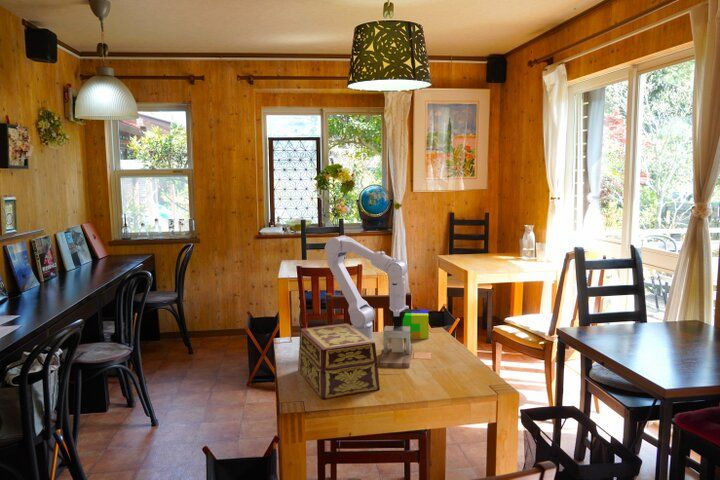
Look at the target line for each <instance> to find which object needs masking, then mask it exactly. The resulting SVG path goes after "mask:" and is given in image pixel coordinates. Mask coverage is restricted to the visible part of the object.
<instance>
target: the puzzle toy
mask: <svg viewBox="0 0 720 480" xmlns="http://www.w3.org/2000/svg"><path fill="white" fill-rule="evenodd" d="M405 311H406V313H405V316H404V318H403V322H402V326H409V327H410V340H411V339H412V340H413V339H415V340H419V339H420V340H422V339H423V340H424V339H425V340H429V335H430V333H429V310H428V309H424V308H423V309H416V308H415V309H412V308H411V309H410V308H409V309H405ZM404 339H405V340H406V338H403V340H404Z"/></svg>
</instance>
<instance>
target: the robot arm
mask: <svg viewBox="0 0 720 480" xmlns="http://www.w3.org/2000/svg"><path fill="white" fill-rule="evenodd" d="M324 251H325V253H326V261H327V267H328V268H329V269H330V271H331V273H332V275H333V277H334V279H335V281H336V283H337V285H338V287H339V288H340V291H341V292H342V295H343V296H344V298H345V300H346V301H347V304H348V309H347V312H348V315H349V316H350V317H349V319H350V322H351V326H352V327H353V328H355V329H356V330H358V331H359V332H361V333H362V334H363V335H365V336H366V337H368V338H369V339H371V340H372V341H373V342H374V339H373V338H374V334H373V333H374V331H373V330H374V329H373V328H374V327H373V321H374V320H375V318H376V311H375V309H374V308H373V307H372V306H371V305H370V304H369V303H368V301H366V300H365V299H363V298H362V296H361V294H360V292H359V291H358V288H357V286H356V285H355V283H354V281H353V279H352V277H351V276H350V273H349V272H348V270H347V268H346V266H345V263H344V259H345V257H346V254H347V253H351V252H352V253H354V254H355V255H358V256H360V257H362V258H365V259H367V260H369V261H370V263H371V265H372V266H373V267H375V268H377V269H379V270H381V271H383V272H384V273H386V275H387V277H388V278H389V308H388V309H389V310H390V312H389V316H390V317H391V320H392V324H393V326H403V318H404V316H405V313H406V311H405V309H410V308H409V305H407V304H406V274H407V273H408V265H407V264H406V262H405V261H403V260H402V259H401V260H397V258H395V257H391V256H389V255H387V254H386V252H385V251H383V250H382V251H379V250H378V251H376V252H374V251H373V250H372V249H369V248H368V247H367V246H365V245H362V243H359V242H358V241H357V240H355V239H354V238H352V237H349V236H347V235H345V234H344V235H339V236H335V237H330V238H328V239H327V241H326V244H325V246H324Z"/></svg>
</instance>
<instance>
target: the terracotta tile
mask: <svg viewBox="0 0 720 480" xmlns="http://www.w3.org/2000/svg"><path fill="white" fill-rule="evenodd" d="M413 359H414V360H432V353H431V352H426V351H425V352H424V351H423V352H421V351H419V352H418V351H417V352H416V351H415V352H414V354H413Z"/></svg>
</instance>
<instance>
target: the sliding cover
mask: <svg viewBox="0 0 720 480" xmlns="http://www.w3.org/2000/svg"><path fill="white" fill-rule="evenodd" d="M382 331H383V351H384V354H387V352H388V349H389V345H390V344H389V343H390V342H389V339H390V338H406V339H405V345H406V354H410V349H411V346H410V345H411V339H410V327H409V326H403V325H402V326H394V325H384V328H383V330H382Z"/></svg>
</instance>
